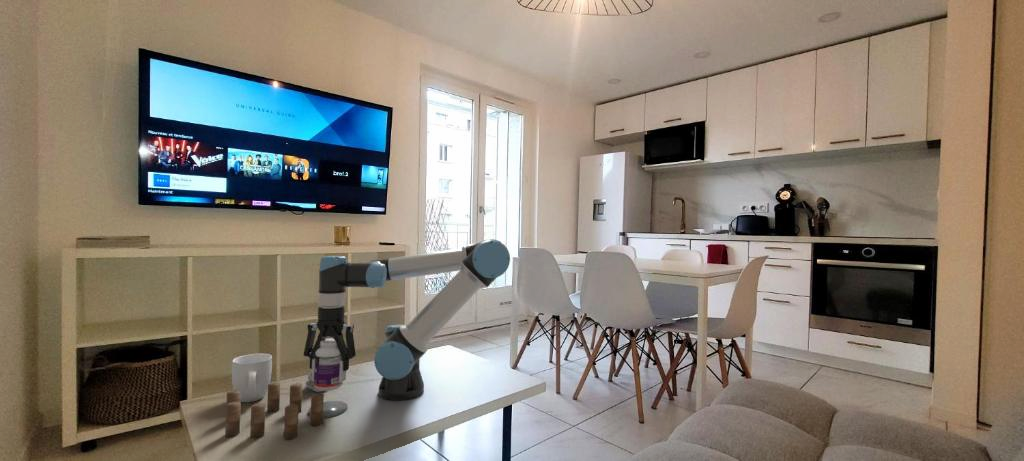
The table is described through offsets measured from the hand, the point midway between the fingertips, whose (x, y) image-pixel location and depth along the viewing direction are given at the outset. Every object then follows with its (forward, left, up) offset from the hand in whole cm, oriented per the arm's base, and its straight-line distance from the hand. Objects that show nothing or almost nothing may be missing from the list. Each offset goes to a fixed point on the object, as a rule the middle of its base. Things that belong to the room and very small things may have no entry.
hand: (328, 380), depth 125 cm
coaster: (0, 0, -9) cm, 9 cm away
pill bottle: (0, 0, -2) cm, 2 cm away
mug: (+28, -4, -9) cm, 30 cm away
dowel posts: (+11, +10, -9) cm, 17 cm away
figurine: (+12, -17, -9) cm, 23 cm away
